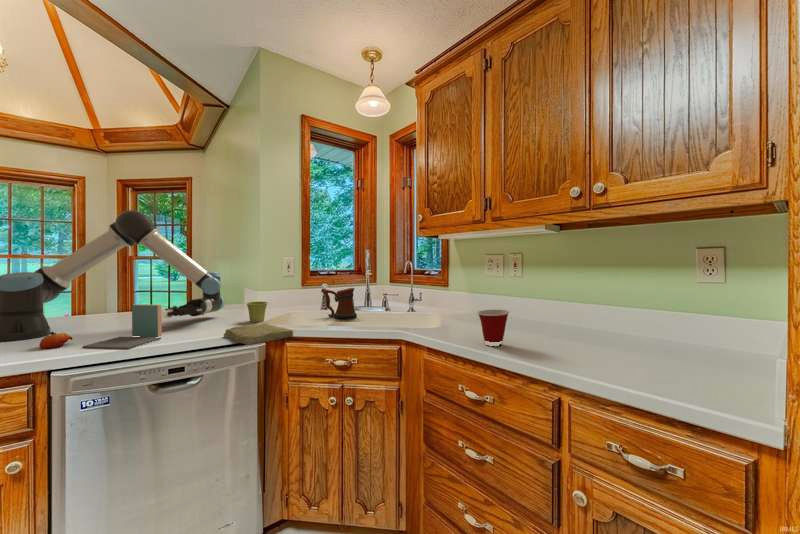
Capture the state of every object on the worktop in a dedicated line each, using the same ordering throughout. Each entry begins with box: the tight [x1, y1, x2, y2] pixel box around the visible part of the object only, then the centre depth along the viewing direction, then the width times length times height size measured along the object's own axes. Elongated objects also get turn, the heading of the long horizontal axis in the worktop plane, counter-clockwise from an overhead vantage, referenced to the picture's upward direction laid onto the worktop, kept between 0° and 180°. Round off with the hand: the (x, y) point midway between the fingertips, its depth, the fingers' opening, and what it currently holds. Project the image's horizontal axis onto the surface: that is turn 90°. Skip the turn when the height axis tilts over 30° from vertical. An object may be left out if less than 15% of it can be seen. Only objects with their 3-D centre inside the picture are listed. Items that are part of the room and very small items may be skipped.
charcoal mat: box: [82, 336, 162, 350], centre depth 121 cm, size 16×14×1 cm
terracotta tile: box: [131, 303, 163, 338], centre depth 131 cm, size 10×2×12 cm, turn 85°
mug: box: [320, 287, 358, 320], centre depth 176 cm, size 18×12×15 cm, turn 85°
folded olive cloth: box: [223, 323, 294, 346], centre depth 133 cm, size 19×20×4 cm
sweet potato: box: [39, 330, 74, 350], centre depth 117 cm, size 8×7×7 cm
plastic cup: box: [477, 308, 510, 342], centre depth 123 cm, size 11×11×12 cm
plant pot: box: [245, 301, 269, 323], centre depth 164 cm, size 9×9×9 cm
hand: (159, 315), depth 137 cm, fingers closed
